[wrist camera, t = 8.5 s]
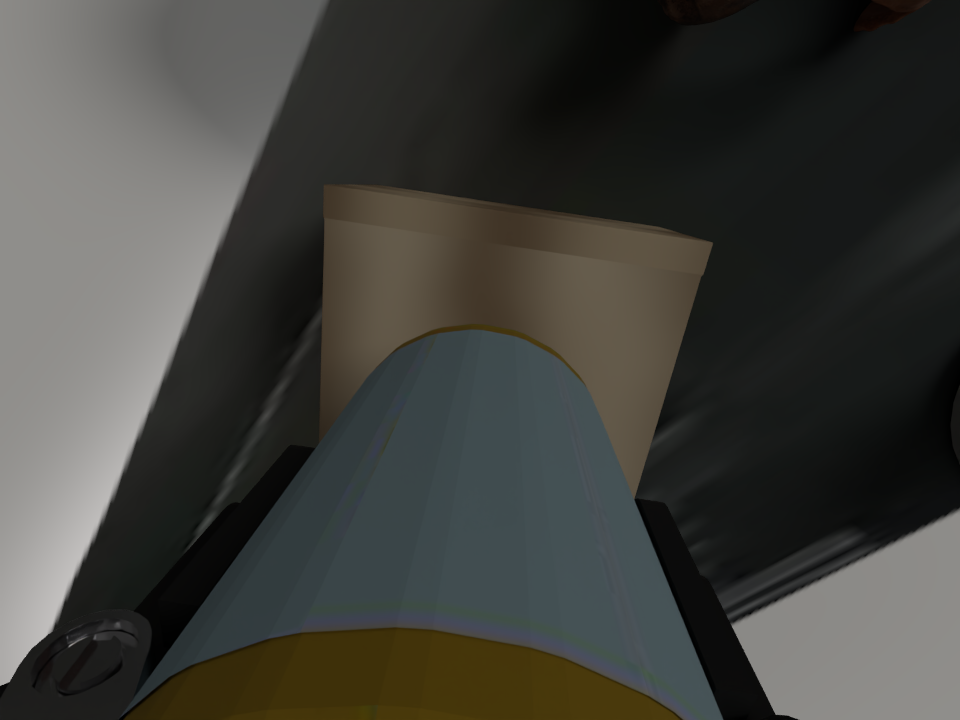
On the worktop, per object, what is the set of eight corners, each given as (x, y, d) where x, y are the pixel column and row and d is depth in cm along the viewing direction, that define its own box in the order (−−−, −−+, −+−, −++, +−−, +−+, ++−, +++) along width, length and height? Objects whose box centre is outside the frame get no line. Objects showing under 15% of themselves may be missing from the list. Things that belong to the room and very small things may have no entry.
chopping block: (658, 226, 20) (712, 242, 15) (595, 469, 25) (618, 554, 19) (376, 184, 21) (324, 184, 15) (361, 433, 25) (316, 505, 19)
